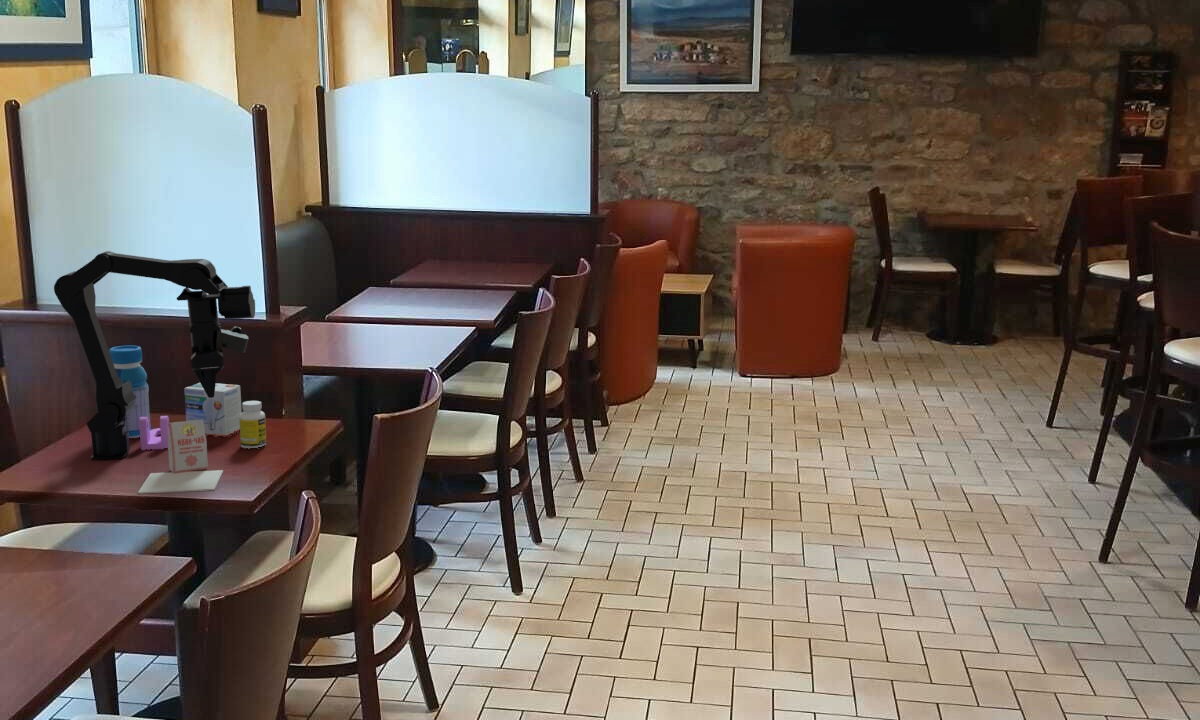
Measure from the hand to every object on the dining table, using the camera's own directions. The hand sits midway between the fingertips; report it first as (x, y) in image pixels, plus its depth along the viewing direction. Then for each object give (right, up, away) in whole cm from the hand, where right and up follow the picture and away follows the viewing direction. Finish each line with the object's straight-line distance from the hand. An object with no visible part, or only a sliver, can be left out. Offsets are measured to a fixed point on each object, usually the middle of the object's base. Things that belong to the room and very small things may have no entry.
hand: (211, 392), depth 243 cm
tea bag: (-2, -16, -9) cm, 18 cm away
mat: (0, -17, -17) cm, 24 cm away
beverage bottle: (-23, -10, +16) cm, 30 cm away
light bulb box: (-6, -10, +19) cm, 22 cm away
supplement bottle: (+6, -12, +8) cm, 16 cm away
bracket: (-15, -11, +12) cm, 22 cm away
